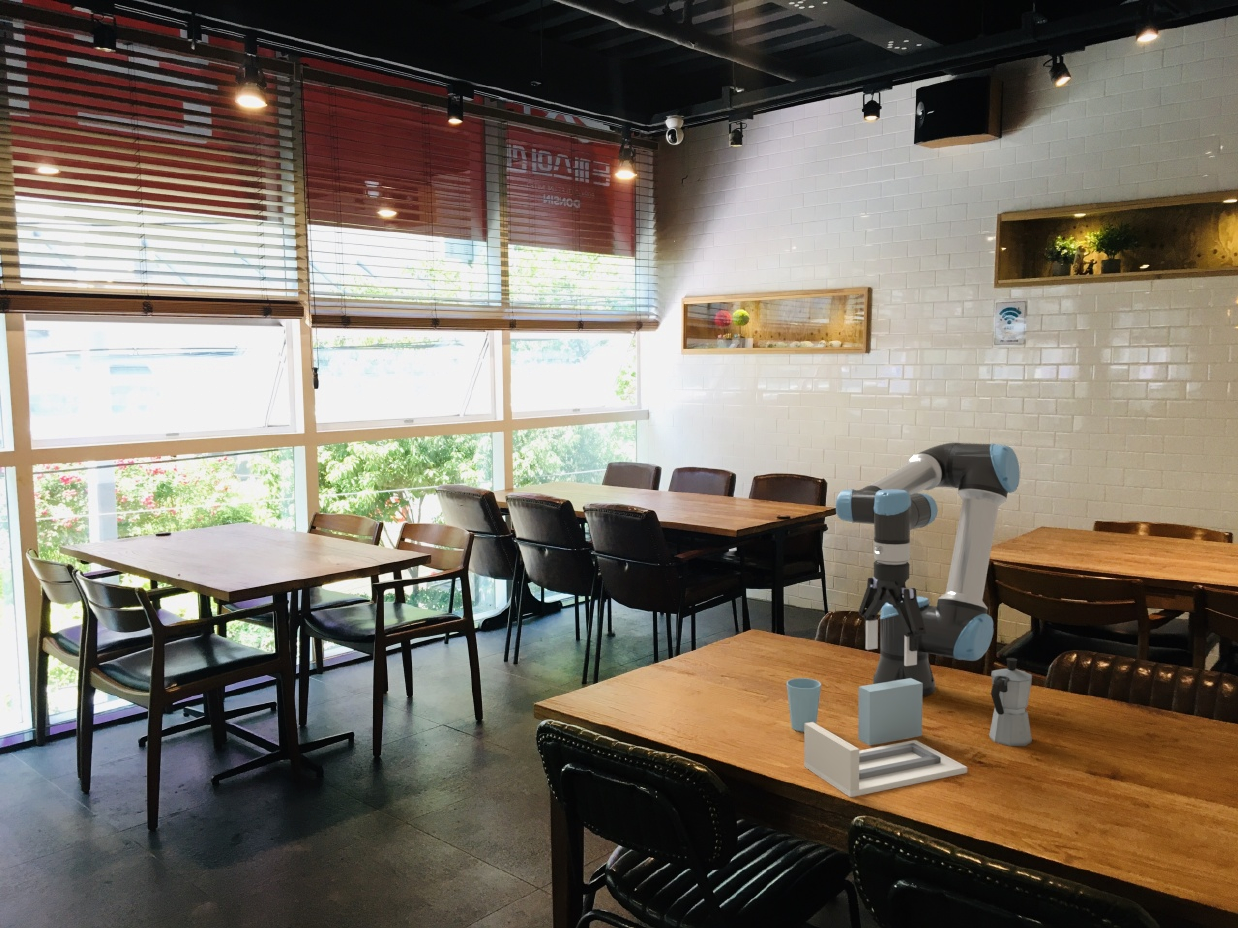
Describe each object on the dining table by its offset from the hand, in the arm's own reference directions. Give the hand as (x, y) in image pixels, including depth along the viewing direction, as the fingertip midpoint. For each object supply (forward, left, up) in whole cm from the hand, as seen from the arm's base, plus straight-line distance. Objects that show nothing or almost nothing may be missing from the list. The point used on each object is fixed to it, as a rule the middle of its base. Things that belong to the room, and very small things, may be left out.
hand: (890, 656), depth 218 cm
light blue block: (0, 0, -18) cm, 18 cm away
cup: (+14, -13, -19) cm, 26 cm away
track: (+12, +14, -18) cm, 26 cm away
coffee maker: (-22, +12, -19) cm, 31 cm away
